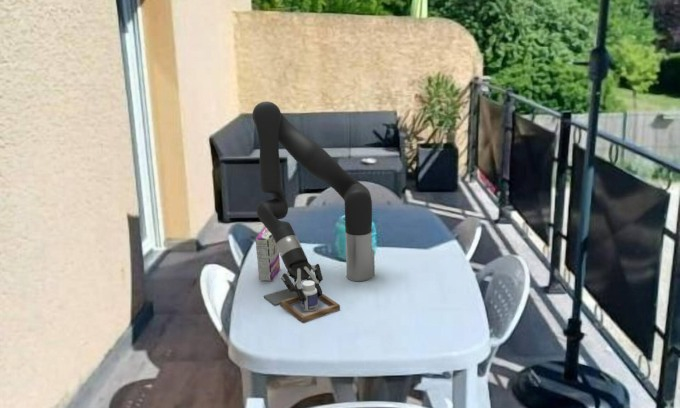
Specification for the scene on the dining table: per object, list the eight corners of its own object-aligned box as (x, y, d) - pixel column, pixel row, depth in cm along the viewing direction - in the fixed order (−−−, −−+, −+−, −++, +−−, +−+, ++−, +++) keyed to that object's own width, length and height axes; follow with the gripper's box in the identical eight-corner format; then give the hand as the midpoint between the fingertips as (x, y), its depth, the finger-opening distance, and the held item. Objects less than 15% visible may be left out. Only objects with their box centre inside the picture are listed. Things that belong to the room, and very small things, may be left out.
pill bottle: (320, 305, 210) (319, 280, 207) (314, 312, 205) (313, 287, 203) (305, 303, 212) (304, 278, 209) (299, 310, 207) (297, 285, 204)
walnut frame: (316, 294, 218) (316, 289, 217) (340, 309, 207) (339, 304, 206) (280, 306, 210) (280, 301, 210) (302, 322, 199) (302, 317, 199)
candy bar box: (267, 268, 240) (264, 226, 235) (280, 269, 239) (277, 227, 234) (258, 281, 229) (254, 238, 224) (271, 282, 228) (268, 238, 223)
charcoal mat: (296, 287, 224) (296, 285, 223) (308, 295, 217) (308, 293, 217) (263, 297, 217) (263, 295, 217) (274, 306, 210) (274, 304, 210)
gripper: (275, 252, 205) (296, 300, 199) (314, 242, 212) (335, 287, 207) (268, 262, 211) (289, 309, 205) (306, 252, 218) (327, 296, 213)
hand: (312, 298), depth 206 cm, fingers closed on pill bottle, 5 cm apart
